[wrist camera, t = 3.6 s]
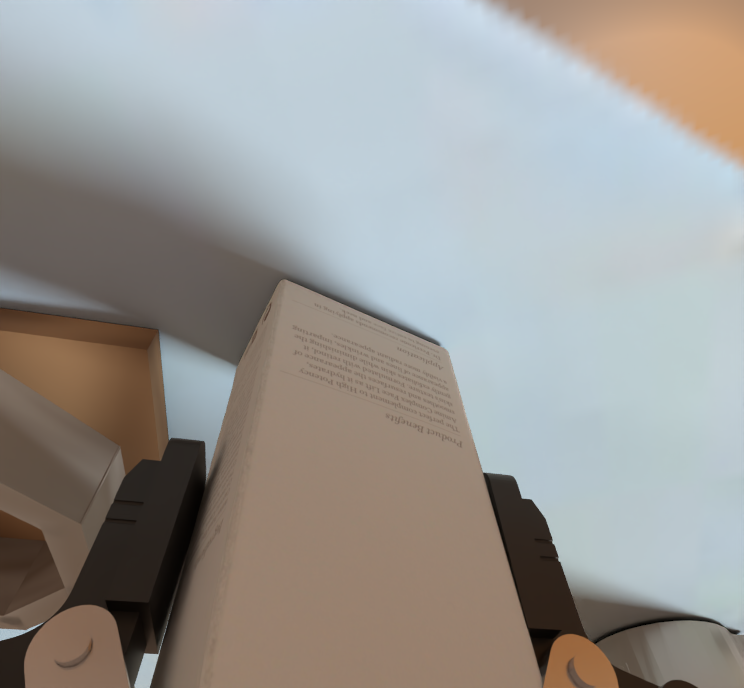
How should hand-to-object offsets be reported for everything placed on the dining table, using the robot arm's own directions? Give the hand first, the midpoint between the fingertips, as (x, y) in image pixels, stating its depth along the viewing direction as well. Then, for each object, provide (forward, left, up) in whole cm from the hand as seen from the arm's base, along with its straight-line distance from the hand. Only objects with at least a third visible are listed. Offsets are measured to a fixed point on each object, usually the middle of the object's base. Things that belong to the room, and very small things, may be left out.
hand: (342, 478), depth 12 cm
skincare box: (0, 0, -5) cm, 5 cm away
